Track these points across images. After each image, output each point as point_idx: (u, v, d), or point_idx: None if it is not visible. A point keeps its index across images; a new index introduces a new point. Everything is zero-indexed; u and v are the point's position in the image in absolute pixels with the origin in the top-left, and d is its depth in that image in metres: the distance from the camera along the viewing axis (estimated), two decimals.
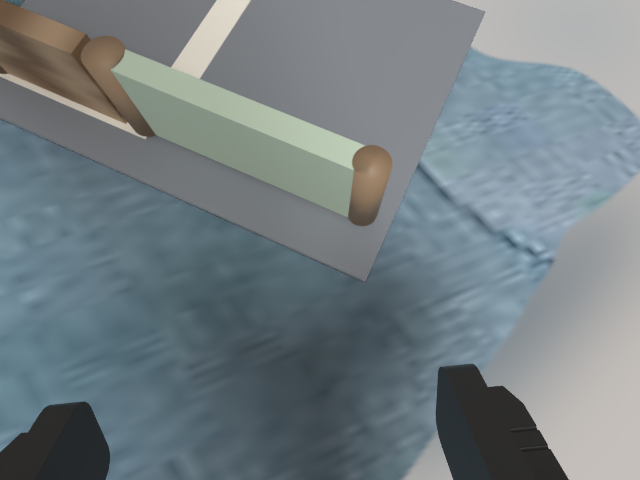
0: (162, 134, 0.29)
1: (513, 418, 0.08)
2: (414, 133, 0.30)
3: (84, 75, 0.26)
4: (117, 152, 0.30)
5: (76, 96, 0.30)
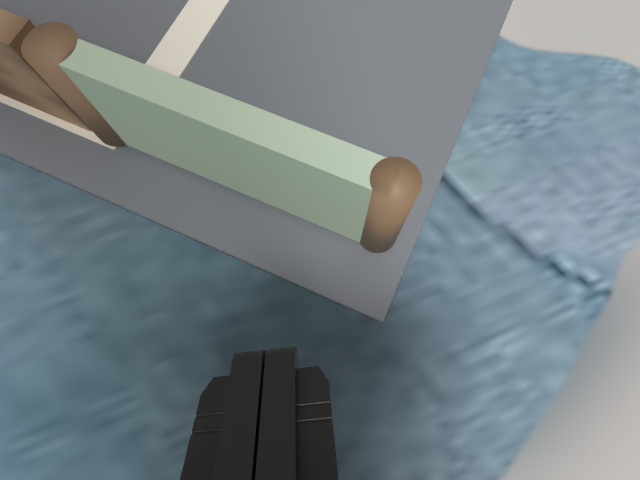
0: (133, 144, 0.24)
1: (313, 394, 0.09)
2: (437, 138, 0.25)
3: (31, 73, 0.21)
4: (80, 166, 0.25)
5: (29, 99, 0.25)
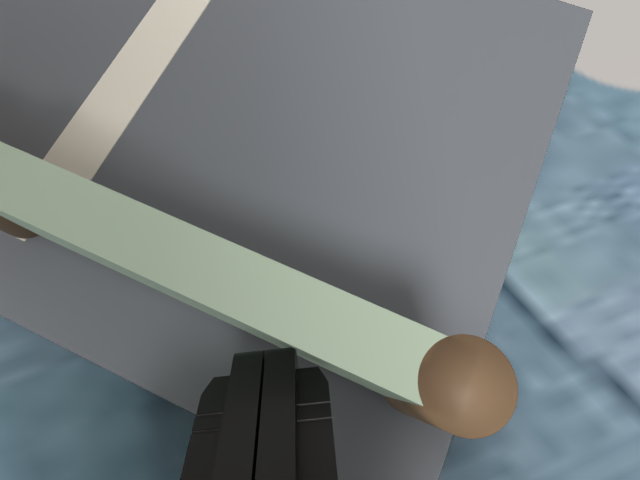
0: (47, 238, 0.16)
1: (313, 394, 0.09)
2: (493, 224, 0.17)
3: None
4: None
5: None
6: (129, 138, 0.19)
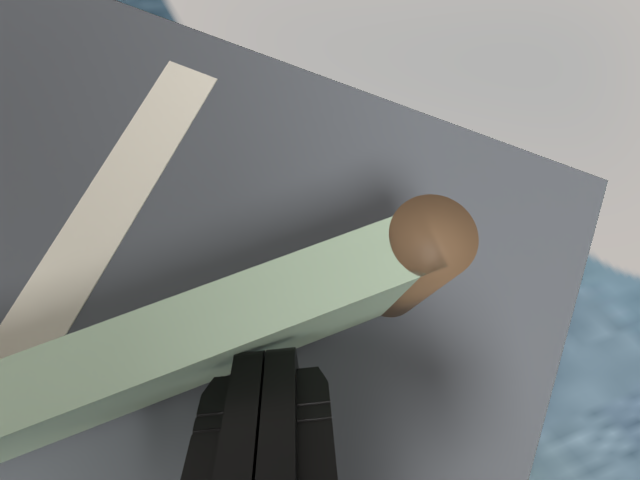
0: None
1: (313, 394, 0.09)
2: (496, 471, 0.15)
3: None
4: None
5: None
6: None
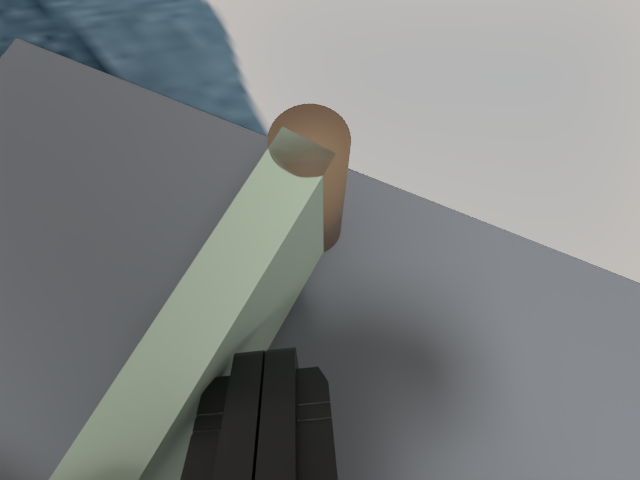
0: None
1: (313, 394, 0.09)
2: None
3: None
4: None
5: None
6: None
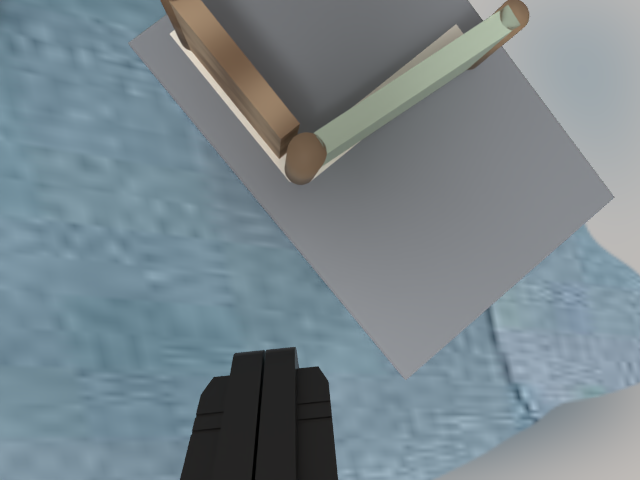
0: (326, 163, 0.33)
1: (313, 394, 0.09)
2: (499, 280, 0.35)
3: (276, 141, 0.28)
4: (262, 183, 0.33)
5: (249, 119, 0.32)
6: (358, 149, 0.34)
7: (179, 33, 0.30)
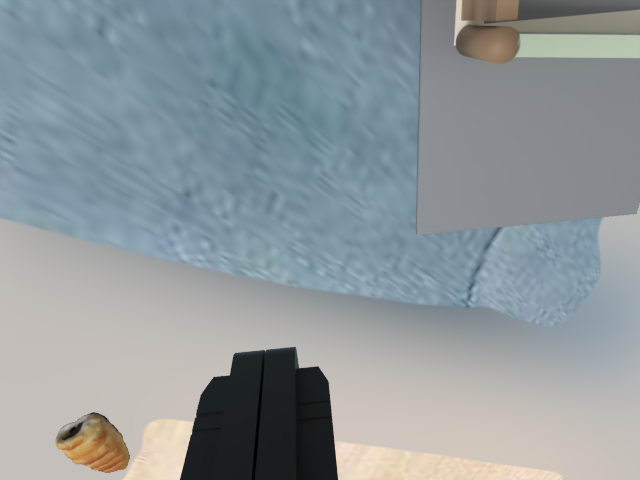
0: None
1: (313, 394, 0.09)
2: (523, 215, 0.45)
3: (484, 15, 0.32)
4: (435, 31, 0.36)
5: None
6: None
7: None
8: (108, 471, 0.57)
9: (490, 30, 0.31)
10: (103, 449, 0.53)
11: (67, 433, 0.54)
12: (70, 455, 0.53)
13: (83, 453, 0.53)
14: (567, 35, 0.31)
